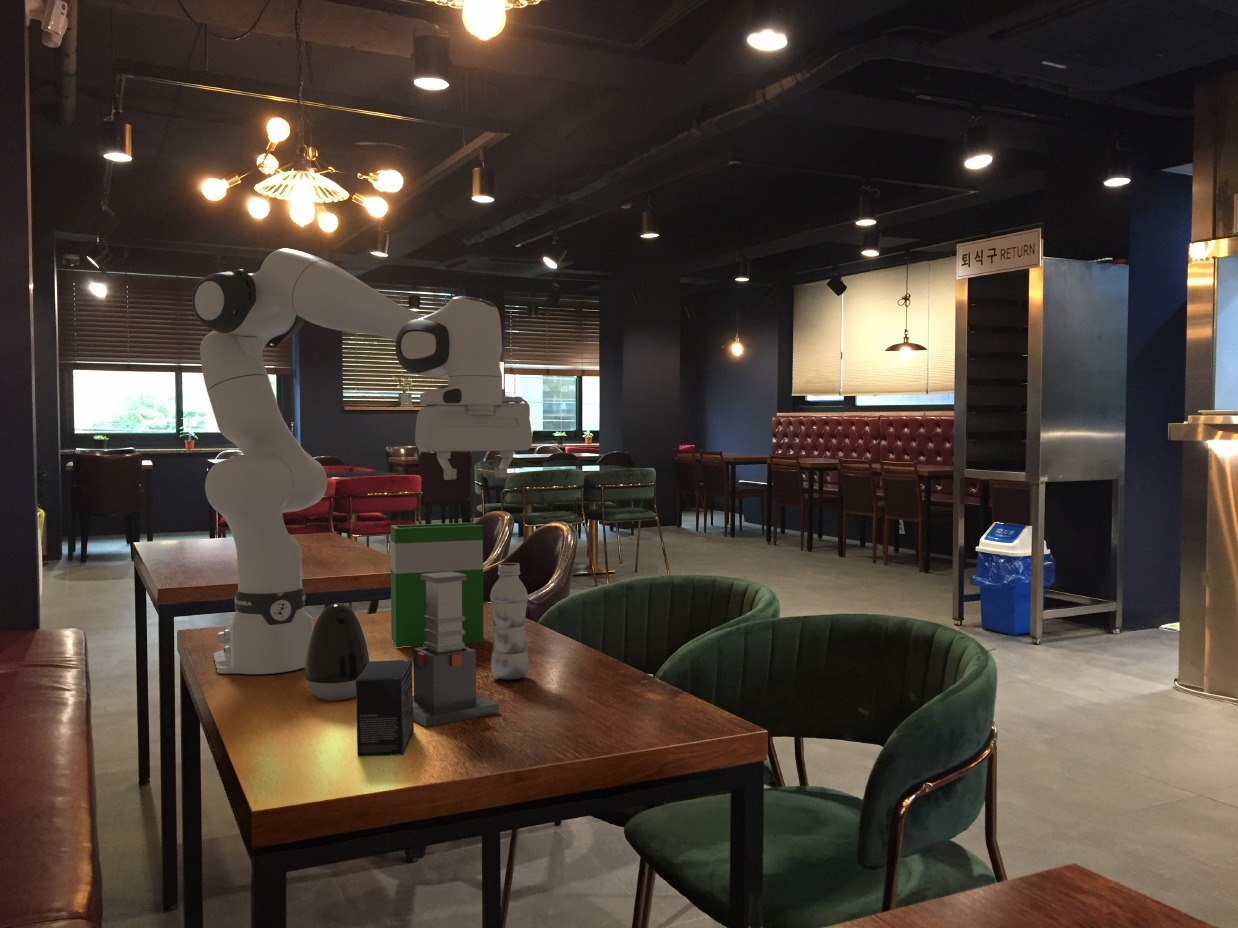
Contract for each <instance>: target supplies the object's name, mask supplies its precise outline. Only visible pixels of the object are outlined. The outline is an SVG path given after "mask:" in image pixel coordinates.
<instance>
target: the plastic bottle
mask: <svg viewBox="0 0 1238 928" xmlns="http://www.w3.org/2000/svg"><path fill="white" fill-rule="evenodd" d="M520 566H521V565H520V563H519V562H518V563H516V562H503V563H498V567H497V569H498V570H497V575H498V577H499V578H498V579H497V580H496V582H495V583H494V584H493V586H492V588H491V590H490V593H489V600H490V607H491V614H492V621H493V623H492V624H493V642H492V643H493V645H492V652H491V658H490V668H491V674H492V675H493V677H494V678H496V679H499V680H505V681H513V680H518V679H522V678H525V677H526V675H527V673H528V672H529V667H530V660H529V655H528V654H529V653H528V651H527V641H526V639H527V638H526V613H527V606H528V597H529V596H528V595H529V594H528V591H527V588H526V587H525V585H524V583H523V582H522V580H521V579H520V578H519V576H520V575H521V571H520V570H521V567H520Z"/></svg>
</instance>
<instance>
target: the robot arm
mask: <svg viewBox="0 0 1238 928" xmlns="http://www.w3.org/2000/svg"><path fill="white" fill-rule="evenodd" d="M191 299H192V300H191V301H192V302H191V303H192V310H193V313H194V316H195V318H196V320H197V321H198V322H199V324H201V325H203V327H206V328H207V329H209V330H211V331H210V332H209V333H208V334H206V335H205V336H204V337H203V338H202V340H201V341H200V345H199V346H200V347H199V355H200V362H201V363H200V365H201V371H202V376H203V380H204V385H205V388H206V392H207V395H208V397H209V398H208V399H209V403H210V405H211V408H212V412H213V415H214V418H215V421H216V424H217V429H218V431H220V434H221V435H222V436H223V437H224V438H225V439H226V440H228V441H230V442H231V443H233V444H234V445H235V446H236V447H237V448H238V449H239V451H241V453H242V454H241V455H236V456H233V457H230V458H226V459H223V460H221V461H218V462H216V463H215V464H213V466H211V468H210V469H209V470H208V473H207V475H206V478H205V482H204V490H205V495H206V499H207V501H208V503H209V504H210V506H211V507H212V508H213V509H214V510H215V511H216V512H218V513H219V515H221V516H222V517H223V518H224V520H225V522H226V523H227V525H228V528H229V530H230V532H231V535H232V537H233V542H234V545H235V549H236V559H237V561H236V562H237V578H238V579H237V581H238V582H237V585H238V588H237V589H238V590H236V592H235V597H234V610H235V612H234V615H233V616H232V618H231V619H230V621H229V623H228V624H227V626H226V628H225V630H224V631H219V632H217V643H218V645H219V646H221V645H225V646H224V648H223V649H222V650H218V651H216V652H214V653H213V656H214V659H213V661H214V660H215V663H214V666H215V665H216V666H215V669H216V668H217V670H216V673H217V672H218V673H217V674H242V675H243V674H244V675H267V674H268V675H269V674H279V673H280V674H281V673H287V672H292V671H297V670H300V668H301V669H305V664H306V657H307V651H308V647H309V643H310V639H311V635H312V632H313V629H314V622H313V617H312V616H311V615H310V614H309V613H307V612H306V611H305V608H304V607H305V606H306V594H305V588H304V587H303V576H302V575H303V567H302V565H303V564H302V563H303V560H302V559H303V557H302V553H303V552H302V547H301V545H300V543H299V541H297V540H296V539H295V538H293V537H292V536H291V535H290V534H289V532H288V530H287V527H286V524H285V522H284V516H283V514H284V513H292V512H298V511H299V512H300V511H302V510H304V509H307V508H309V507H312V506H314V505H316V504H317V503H319V502H320V501H321V500H322V499H323V497H324V496H325V494H326V491H327V488H328V476H327V473H326V470H325V468H324V466H323V465H322V464H321V463H320V462H319V461H318V460H316V459H315V458H314V457H312V456H311V455H310V454H309V453H307V451H305V449H304V448H303V447H302V446H301V445H300V444H301V443H300V442H298V440H297V438H296V437H295V436H294V434H293V433H292V431H291V430H290V428H289V427H288V424H287V423H286V421H285V419H284V418H283V414H282V412H281V410H280V407H279V405H278V401H277V399H276V395H275V393H274V390H273V386H272V384H271V383H272V382H271V381H270V376H269V374H268V371H267V368H266V366H265V363H264V362H265V361H264V357H263V356H264V355H263V353H264V348H265V347H267V348H272V349H274V348H277V347H279V346H280V345H281V344H282V342H283V341H285V340H287V339H289V338H290V337H292V336H294V335H295V334H296V333H298V331H299V330H300V329H301V328H302V326H303V324H304V323H305V321H307V322H309V323H311V324H314V325H317V326H320V327H322V328H326V329H327V328H328V329H331V330H335V331H340V332H349V333H359V334H366V335H371V336H372V335H373V336H379V337H382V338H387V339H388V340H389V339H390V340H391V341H395V345H394V348H395V354H396V359H397V361H398V364H399V365H400V366H401V368H403V370H405V371H406V372H408V373H411V374H414V375H417V376H421V377H426V378H427V377H428V378H438V379H443V380H445V379H446V380H448V381H447V384H446V385H442V386H438V387H437V388H434V389H430V390H427V391H423V392H422V393H420V395H419V403H420V405H422V406H423V407H422V408H420V409H419V411H418V412H417V416H416V422H415V434H414V435H415V436H414V437H415V438H414V439H415V446H416V447H417V449H418V450H419V451H420V452H427V453H428V452H430V453H431V452H436V459H437V461H438V463H439V465H440V466H441V467H442V469H443V480H445V481H453V480H455V481H456V480H457V476H458V475H457V473H458V472H457V470H458V469H457V468H453V467H452V466H451V463H450V462H449V460H448V459H451V452H493V451H494V452H497V451H499V457H500V458H502V459H501V461H500V464H499V465H498V467H494V478H495V479H507V478H508V468H509V466H510V464H511V462H512V460H513V458H514V451H515V452H517V451H529V450H530V449H531V447H532V446H533V435H532V433H533V431H532V425H531V420H530V416H531V410H530V407H531V406H530V403H528V401H527V400H526V399H523V397H522V396H509V395H508V396H507V395H503V374H502V370H501V366H500V362H501V356H502V352H503V343H502V340H503V339H502V337H503V336H502V323H501V317H500V312H499V310H498V308H497V306H496V304H494V302H491V301H490V300H487V299H486V300H485V299H482V298H476V297H471V296H464V295H458V296H454V297H452V298H451V299H450V300H449V301H448V302H447V303H446V304H445V305H444V306H443V307H441V308H440V309H438V310H436V311H434V312H432V313H430V314H428V315H422V314H420V313H418V312H416V311H413V310H412V309H410V308H407V307H406V306H403V305H401V304H399V303H397V302H395V301H394V300H392V299H390V298H389V297H387V296H386V295H384V294H382V293H381V292H379V291H377V290H375V288H373V287H371V286H369V285H368V284H366V283H365V282H363V281H362V280H360V279H358V278H357V277H356V276H354V275H353V274H351V273H350V272H348V271H346V270H345V269H343V268H341V267H339V266H338V265H336V264H334V263H332V262H331V261H328V260H325V259H323V258H321V257H319V256H316V255H314V254H310V253H309V252H308V253H307V252H304V251H301V250H297V249H294V248H293V249H292V248H279V249H277V250H274V251H272V252H271V253H270V254H268V256H267V257H265V259H264V261H263V262H262V264H261V266H260V269H259V270H258V271H257V272H254V273H249V272H247V271H246V270H245V269H243V268H242V269H236V270H230V271H224V272H223V271H222V272H216V273H212V274H208V275H205V276H204V277H202V278H201V279H200V280H199V281H198V283H197V284H196V286H195V288H194V291H193V293H192V298H191Z"/></svg>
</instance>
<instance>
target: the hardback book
mask: <svg viewBox="0 0 1238 928" xmlns="http://www.w3.org/2000/svg"><path fill="white" fill-rule="evenodd" d="M483 527H484V525H482V524H481V525H480V524H479V525H478V524H477V523H476V522H457V523H456V522H455V523H429V524H428V523H427V524H426V523H425V524H424V523H423V524H419V523H418V524H396V525H393V524H391V525H390V529H389V530H390V613H391V614H390V615H391V616H390V623H391V627H390V628H391V629H390V630H391V631H390V632H391V633H390V634H391V638H392V640H393V642H394V644H395V645H396V647H402V646H423V645H424V642H427V634H425V633H424V629H426V620H424V616H426V581H425V580H421V574H428V573H438V572H449V571H452V572H457V573H461V574H465V575H467V580H464V581H462V616H464V617H465V621H462V630H465V634H464V635H462V643H465V644H473V643H472V642H475V643H480V642H479V641H483V642H484V545H483V544H484V538H483V537H484V532H483V531H484V530H483V529H484V528H483ZM394 644H393V645H394ZM396 647H395V648H396Z"/></svg>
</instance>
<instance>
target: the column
mask: <svg viewBox="0 0 1238 928" xmlns="http://www.w3.org/2000/svg"><path fill="white" fill-rule="evenodd" d="M421 580H425V581H426V616H424V620H426V629H424V633H425V634H427V642H424V647H427V652H430V653H432V654H435V655H440V654H447V653H454V652H460V651H462V648H464V647H466V643H462V635H464V634H465V630H462V621H465V617H464V616H462V581H464V580H467V575H465V574H461V573H457V572H452V571H449V572H438V573H428V574H421Z"/></svg>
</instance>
